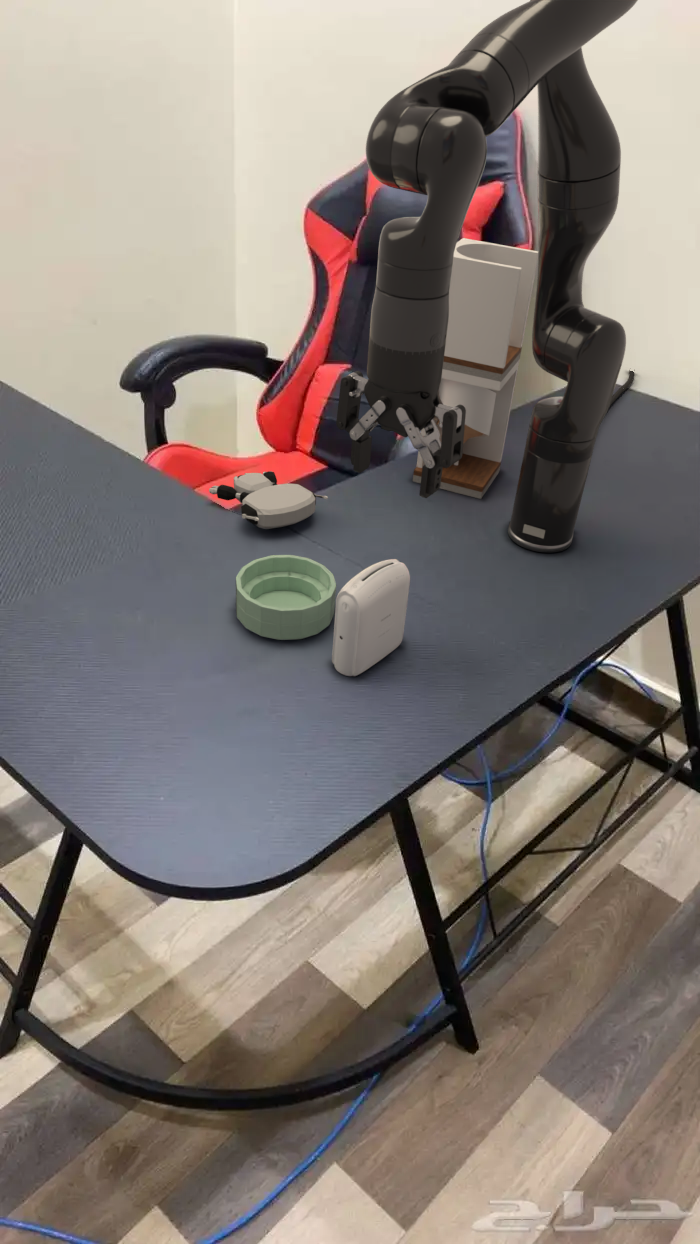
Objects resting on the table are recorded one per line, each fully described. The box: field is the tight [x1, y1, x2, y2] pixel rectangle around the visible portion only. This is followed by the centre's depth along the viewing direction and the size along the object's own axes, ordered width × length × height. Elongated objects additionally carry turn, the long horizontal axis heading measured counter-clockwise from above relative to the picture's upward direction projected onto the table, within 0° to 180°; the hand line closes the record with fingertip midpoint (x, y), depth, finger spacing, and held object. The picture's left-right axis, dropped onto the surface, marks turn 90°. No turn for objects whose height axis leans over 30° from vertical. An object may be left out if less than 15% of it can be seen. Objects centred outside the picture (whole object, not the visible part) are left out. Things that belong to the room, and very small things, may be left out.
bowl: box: [235, 554, 337, 641], centre depth 118 cm, size 12×12×5 cm
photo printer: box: [331, 558, 411, 677], centre depth 111 cm, size 10×4×12 cm, turn 140°
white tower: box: [412, 237, 538, 500], centre depth 143 cm, size 11×11×35 cm
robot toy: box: [208, 470, 329, 530], centre depth 139 cm, size 12×4×15 cm
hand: (393, 482), depth 102 cm, fingers open, 8 cm apart
